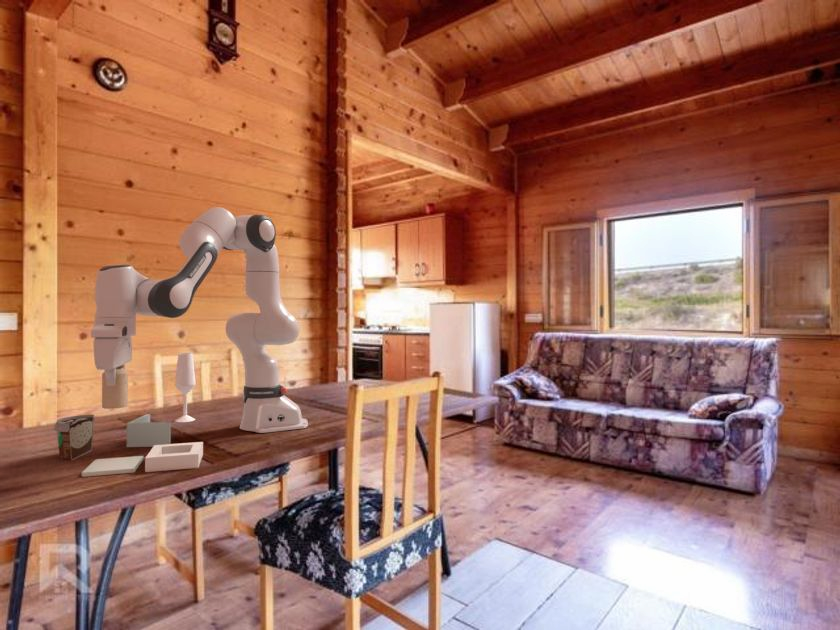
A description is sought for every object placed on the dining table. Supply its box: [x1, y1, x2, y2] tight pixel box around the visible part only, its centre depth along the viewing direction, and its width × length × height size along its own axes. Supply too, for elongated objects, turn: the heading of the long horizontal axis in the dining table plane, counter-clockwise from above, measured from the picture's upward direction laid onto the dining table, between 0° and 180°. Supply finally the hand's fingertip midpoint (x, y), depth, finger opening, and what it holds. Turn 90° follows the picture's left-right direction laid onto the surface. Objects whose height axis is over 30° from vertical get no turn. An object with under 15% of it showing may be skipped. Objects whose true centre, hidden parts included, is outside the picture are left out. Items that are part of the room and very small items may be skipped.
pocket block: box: [144, 441, 204, 473], centre depth 129 cm, size 12×12×4 cm
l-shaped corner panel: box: [126, 413, 172, 448], centre depth 150 cm, size 12×12×8 cm
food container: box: [53, 414, 96, 462], centre depth 134 cm, size 12×6×10 cm, turn 5°
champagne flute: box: [174, 352, 197, 423], centre depth 178 cm, size 7×7×24 cm
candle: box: [101, 367, 129, 410], centre depth 124 cm, size 6×6×10 cm
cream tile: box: [81, 455, 144, 478], centre depth 125 cm, size 11×11×1 cm
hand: (115, 383), depth 124 cm, fingers closed on candle, 5 cm apart
